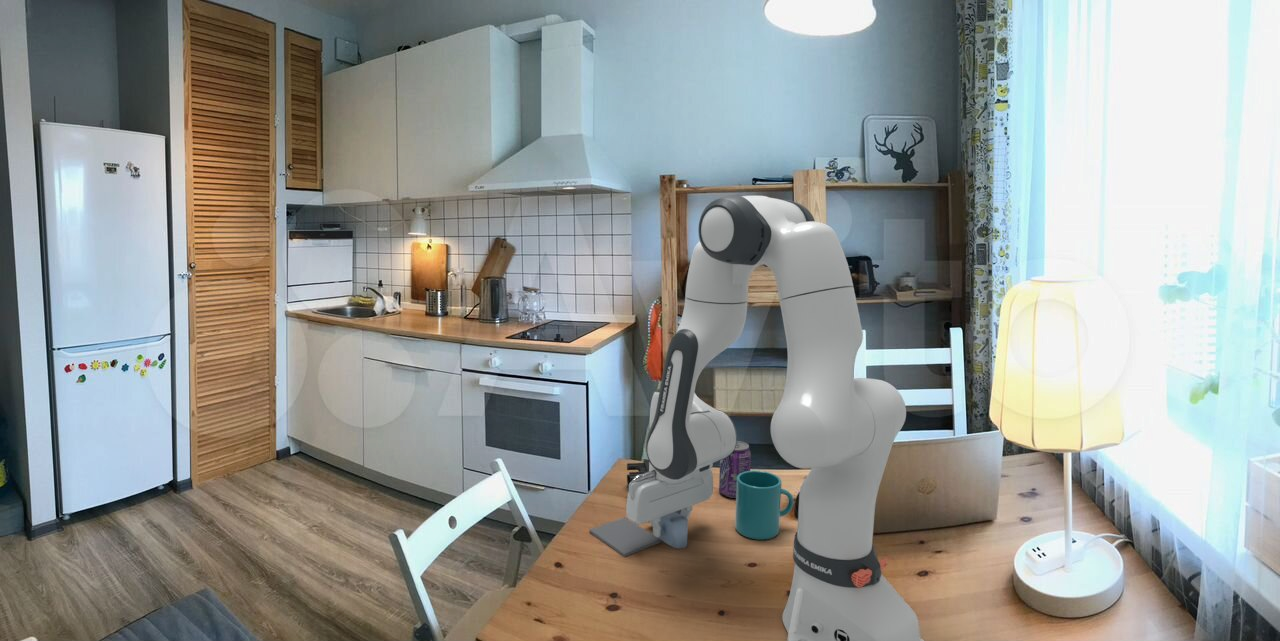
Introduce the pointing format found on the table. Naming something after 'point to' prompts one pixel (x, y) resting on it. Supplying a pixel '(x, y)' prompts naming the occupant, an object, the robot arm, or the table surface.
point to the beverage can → (734, 468)
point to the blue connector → (674, 530)
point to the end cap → (637, 466)
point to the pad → (624, 536)
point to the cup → (759, 504)
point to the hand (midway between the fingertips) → (670, 530)
